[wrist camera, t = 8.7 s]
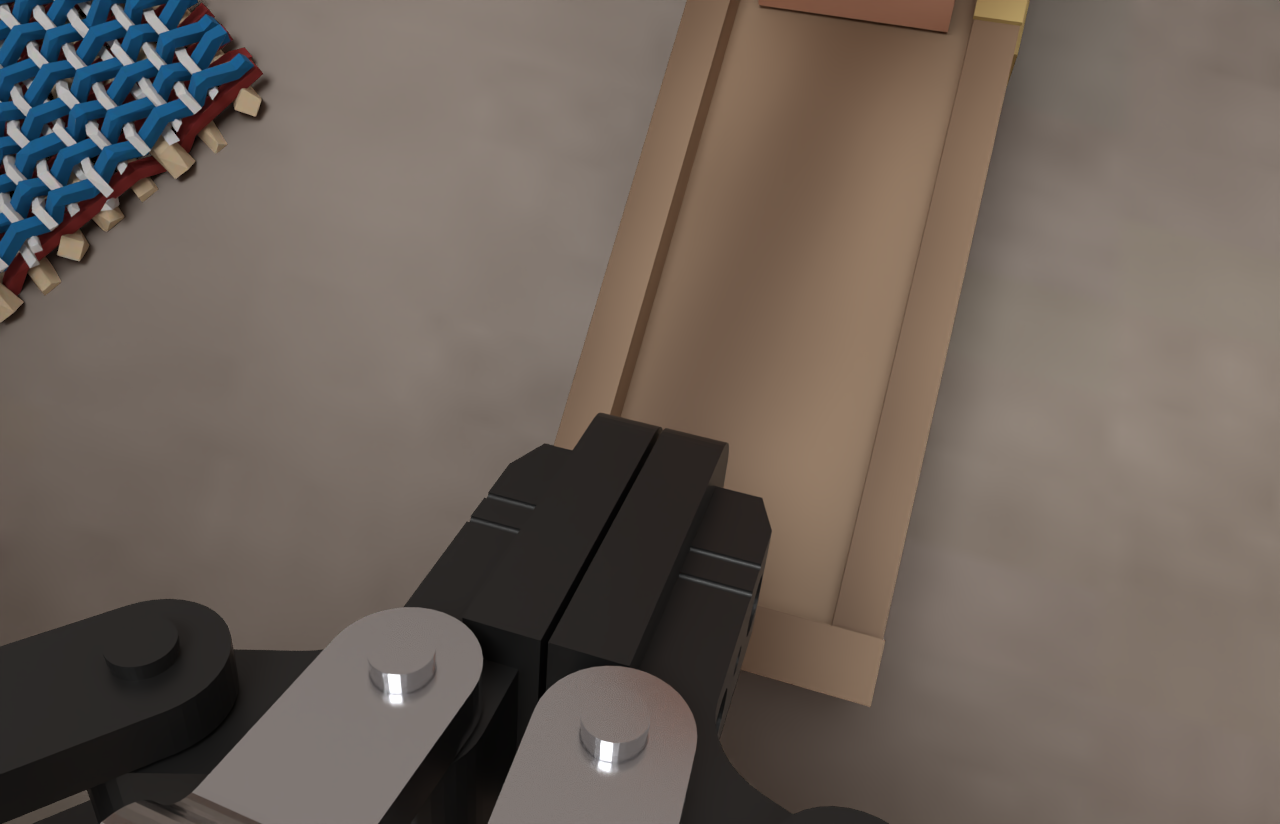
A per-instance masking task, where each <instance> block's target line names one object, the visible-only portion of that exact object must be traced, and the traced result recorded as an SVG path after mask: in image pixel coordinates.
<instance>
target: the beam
mask: <svg viewBox="0 0 1280 824" xmlns="http://www.w3.org/2000/svg"><path fill="white" fill-rule="evenodd" d="M1029 1H1030V0H955V4H954V8H953V12H952V16H951V20H950V25H949V29H948V32H942V31H935V30H928V29H921V28H914V27H907V26H900V25H893V24H887V23H880V22H873V21H866V20H859V19H852V18H845V17H838V16H831V15H824V14H817V13H810V12H803V11H796V10H789V9H783V8H776V7H769V6H762V5H759V3H758V0H687V2H686V5H685V8H684V12H683V15H682V18H681V22H680V25H679V29H678V32H677V35H676V39H675V42H674V45H673V49H672V52H671V55H670V59H669V62H668V65H667V69H666V72H665V75H664V79H663V82H662V85H661V89H660V92H659V95H658V99H657V102H656V105H655V109H654V112H653V115H652V119H651V122H650V125H649V129H648V132H647V135H646V139H645V142H644V145H643V149H642V152H641V155H640V159H639V162H638V166H637V169H636V172H635V176H634V179H633V182H632V186H631V189H630V192H629V196H628V199H627V202H626V206H625V209H624V212H623V216H622V219H621V222H620V226H619V229H618V232H617V236H616V239H615V242H614V246H613V249H612V252H611V256H610V259H609V262H608V266H607V269H606V272H605V276H604V279H603V282H602V286H601V289H600V293H599V296H598V299H597V303H596V306H595V309H594V313H593V316H592V319H591V323H590V326H589V329H588V333H587V336H586V339H585V343H584V346H583V349H582V353H581V356H580V359H579V363H578V366H577V369H576V373H575V376H574V379H573V383H572V386H571V389H570V393H569V396H568V399H567V403H566V406H565V409H564V413H563V416H562V419H561V423H560V426H559V430H558V433H557V436H556V440H555V443H554V446H557V447H561V448H565V449H569V450H573V449H574V447H575V446H576V444H577V443H578V441H579V440H580V438H581V437H582V435H583V434H584V432H585V431H586V429H587V428H588V426H589V425H590V423H591V422H592V420H593V419H594V417H595V416H596V415H597V414H598V413H600V412H601V413H605V414H609V415H614V416H618V417H622V418H626V419H630V420H634V421H638V422H643V423H647V424H651V425H655V426H659V427H662V429H663V430H664V429H665V428H669V429H673V430H677V431H681V432H685V433H689V434H693V435H697V436H702V437H706V438H710V439H714V440H718V441H722V442H726V443H728V444H729V455H728V463H727V469H726V475H725V481H724V487H723V488H725V489H729V490H733V491H737V492H741V493H745V494H749V495H753V496H757V497H761V498H763V502H764V505H765V509H766V512H767V516H768V519H769V522H770V526H771V529H772V534H771V539H770V544H769V549H768V554H767V559H766V564H765V569H764V574H763V579H762V584H761V589H760V594H759V599H758V604H757V609H756V614H755V619H754V624H753V629H752V634H751V637H750V640H749V643H748V647H747V650H746V653H745V657H744V660H743V663H742V666H741V669H740V670H743V671H747V672H750V673H754V674H757V675H761V676H764V677H768V678H771V679H775V680H778V681H782V682H785V683H789V684H792V685H796V686H799V687H802V688H806V689H809V690H813V691H816V692H820V693H823V694H827V695H830V696H834V697H837V698H841V699H844V700H848V701H851V702H855V703H858V704H862V705H865V706H869V707H871V703H872V698H873V694H874V689H875V685H876V680H877V676H878V671H879V667H880V662H881V658H882V653H883V649H884V644H885V640H883V637H884V633H885V628H886V624H887V619H888V615H889V610H890V606H891V601H892V597H893V592H894V588H895V583H896V579H897V574H898V570H899V566H900V561H901V557H902V552H903V548H904V543H905V539H906V534H907V530H908V525H909V521H910V516H911V512H912V507H913V503H914V498H915V494H916V489H917V485H918V481H919V476H920V472H921V467H922V463H923V458H924V454H925V449H926V445H927V440H928V436H929V431H930V427H931V422H932V418H933V413H934V409H935V404H936V400H937V396H938V391H939V387H940V382H941V378H942V373H943V369H944V364H945V360H946V355H947V351H948V346H949V342H950V337H951V333H952V328H953V324H954V319H955V315H956V311H957V306H958V302H959V297H960V293H961V288H962V284H963V279H964V275H965V270H966V266H967V261H968V257H969V252H970V248H971V243H972V239H973V234H974V230H975V226H976V221H977V217H978V212H979V208H980V203H981V199H982V194H983V190H984V185H985V181H986V176H987V172H988V167H989V163H990V158H991V154H992V149H993V145H994V141H995V136H996V132H997V127H998V123H999V118H1000V114H1001V109H1002V105H1003V100H1004V96H1005V91H1006V87H1007V84H1008V81H1009V78H1010V76H1011V73H1012V70H1013V67H1014V64H1015V61H1016V58H1017V55H1018V51H1019V46H1020V42H1021V37H1022V33H1023V28H1024V24H1025V19H1026V15H1027V10H1028V6H1029Z"/></svg>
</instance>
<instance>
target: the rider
mask: <svg viewBox="0 0 1280 824" xmlns="http://www.w3.org/2000/svg"><path fill="white" fill-rule="evenodd" d="M758 3H759V5H762V6H769V7H776V8H783V9H789V10H796V11H803V12H810V13H817V14H824V15H831V16H838V17H845V18H852V19H859V20H866V21H873V22H880V23H887V24H893V25H900V26H907V27H914V28H921V29H928V30H935V31H942V32H948V29H949V25H950V20H951V16H952V12H953V8H954V4H955V0H758Z"/></svg>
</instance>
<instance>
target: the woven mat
mask: <svg viewBox="0 0 1280 824" xmlns="http://www.w3.org/2000/svg"><path fill="white" fill-rule="evenodd" d="M91 2H92V3H91ZM123 3H126V4H125V5H124V4H123ZM196 3H198V1H197V0H0V323H1V322H2V321H3V320H5V319H6V318H7V317H9V316H10V315H11V314H13V313H14V312H15V311H16V310H17V309H18V308H19V307H20V306H21V305H22V304H23V301H22V300H21V299H20V298H19V297H17V295H18V294H20V292H21V289H22V286H23V283H24V280H25V278H26V275H27V273H28V275H29V276H30V277H31V279H32V280H33V281H34V283H35V284H36V285H37V286H38V288H39V289H40V290H41V291H42V293H43V294H44V295H46V294H48V293H49V292H50V291H51V290H52V289H54V288H55V287H56V286H57V285H58V284H60V283H61V280H60V279H59V277H58V275H57V273H56V271H55V269H54V268H53V266H52V265H51V263H50V262H49V260H48V259H47V258H46V255H47V254H49V253H50V252H51V251H52V250H54V249H55V248H56V247H57V246H58V245H59V248H58V253H57V255H58V256H61V257H65V258H69V259H72V260H76V261H80V260H81V259H82V258H83V256H84V255H85V253H86V251H87V250H88V247H89V244H88V242H87V240H86V238H85V237H84V235H83V233H82V232H81V230H80V229H79V228H81V227H82V226H83V225H84V224H86V223H87V222H88V221H89V220H91V219H93V220H94V221H95V222H96V223H97V224H98V225H99V226H100V227H101V229H102V230H103V231H109V230H110V229H111V228H112V227H113V226H115V225H116V224H117V223H118V222H119V221H121V220H122V219H123V218H124V215H123V214H122V212H121V210H120V209H119V207H118V206H119V199H118V197H119V196H120V195H121V194H123V193H124V192H125V191H126V190H128V189H129V188H130V187H131V189H132V190H133V191H134V192H135V194H136V195H137V196H138V197H139V199H140V200H141V201H142V202H143V201H145V200H146V199H147V198H148V197H150V196H151V195H152V194H153V193H154V192H156V191H157V190H158V188H157V186H156V185H155V184H154V182H153V181H152V179H151V178H150V176H153V175H156V174H159V173H163V172H166V171H168V172H169V173H170V174H171V175H172V176H173V177H174V178H175V179H176V178H177V177H179V176H180V175H181V174H183V173H184V172H185V171H187V170H188V169H189V168H190V167H191V166H192V165H193V163H194V162H195V160H194V159H193V158H192V157H191V156H190V155H189V154H188V153H189V152H190V150H191V147H192V145H193V142H194V139H195V136H196V135H198V136H199V137H200V138H201V140H202V141H203V142H204V143H205V144H206V145H207V146H208V147H209V148H210V149H211V150H212V151H213V152H214V153H215V154H217V153H218V152H219V151H220V150H221V149H223V148H224V147H225V146H226V145H228V144H227V143H226V141H225V139H224V138H223V136H222V135H221V133H220V131H219V130H218V128H217V127H216V125H215V123H214V122H213V119H214V118H215V117H216V116H217V115H219V114H220V113H221V112H222V111H223V110H224V109H225V108H226V107H227V106H228V105H230V104H231V103H232V102H233V104H234V109H235V110H237V111H240V112H243V113H246V114H249V115H252V116H255V117H256V116H257V113H258V111H259V107H260V104H261V97H260V96H259V95H258V94H257V93H256V92H255V90H254V89H253V88H252V87H251V86H250V85H251V84H253V83H254V82H255V81H256V80H257V79H258V78H259V77H260V76H261V75H262V74H263V73H262V71H261V70H260V69H259V68H258V67H257V66H256V64H255V63H254V62H253V61H252V60H251V58H252V56H251V55H250V53H249V52H248V51H247V50H246V49H245V48H240V49H236V50H232V51H229V52H227V53H226V54H224V53H223V51H222V50H221V49H222V48H223V47H224V46H225V45H227V44H228V43H229V42H231V41H232V40H233V39H232V37H231V36H230V34H229V33H228V31H227V30H226V29H225V28H224V27H223V26H222V24H221V25H220V24H219V23H218V22H217V21H216V20H215V19H214V17H215V16H214V15H213V14H212V13H211V11H210V10H209V9H208V8H207V7H206V6H205V5H204V4H203V3H201V4H200V5H199V6H198V7H197V8H196V9H195V10H194V11H193V12H192V13H190V11H189V10H188V9H187V8H189V7H191V6H193V5H194V4H196ZM44 7H45V8H44ZM79 8H81V9H82V11H83V12H84V13H85V15H86V18H85V19H83V17H82V16H81V15H80V13H79V12H78V11H77V10H78V9H79ZM33 16H34V17H33ZM32 17H33V18H32ZM31 18H32V19H31ZM119 38H121V39H120V40H119V41H118V40H117V39H119ZM5 39H6V40H5ZM4 40H5V41H4ZM156 41H158V42H157V45H156V43H155V42H156ZM107 44H108V45H109V46H110V48H109V49H107V48H106V45H107ZM186 46H187V47H188V48H187V49H185V47H186ZM103 84H104V85H105V86H104V85H103ZM218 85H219V86H220V87H218V88H217V87H216V86H218ZM50 92H52V95H53V98H54V100H51V101H50V100H49V99H48V98H47V97H48V96H49V94H50ZM207 93H208V94H209V96H208V97H207V98H206V95H207ZM8 100H9V102H8ZM182 118H183V119H182ZM21 119H23V120H21ZM181 119H182V121H181ZM133 122H134V123H133ZM172 126H173V128H174V129H175V130H176V132H177V133H176V135H175V133H174V132H173V131H172V129H171V127H172ZM122 127H123V130H124V133H123V134H122V135H121V136H120V133H121V129H122ZM149 152H150V154H151V155H152V156H150V157H146V158H143V159H140V160H137V159H136V158H137V157H141V156H145V155H148V154H149ZM99 154H100V155H99ZM97 155H99V156H98V157H97V160H96V162H95V165H93V163H92V161H91V159H90V158H93V157H95V156H97ZM49 156H50V157H51V159H49V160H48V161H46V157H49ZM1 164H2V166H1ZM35 165H37V168H36V166H35ZM115 169H116V170H117V171H118V172H117V173H115V174H114V171H115ZM113 174H114V175H113ZM13 190H15V192H14V194H13V196H12V199H10V195H9V192H10V191H13ZM31 205H32V208H31V209H30V207H31ZM67 211H68V212H67ZM14 257H15V258H14ZM4 271H5V273H4Z"/></svg>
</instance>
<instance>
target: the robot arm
mask: <svg viewBox="0 0 1280 824" xmlns="http://www.w3.org/2000/svg"><path fill="white" fill-rule="evenodd" d="M728 455H729V444H728V443H726V442H722V441H718V440H714V439H710V438H706V437H702V436H697V435H693V434H689V433H685V432H681V431H677V430H673V429H669V428H665V429H664V430H663V429H662V427H659V426H655V425H651V424H647V423H643V422H638V421H634V420H630V419H626V418H622V417H618V416H614V415H609V414H605V413H601V412H600V413H598V414H597V415H596V416H595V417H594V419H593V420H592V422H591V423H590V425H589V426H588V428H587V429H586V431H585V432H584V434H583V435H582V437H581V438H580V440H579V441H578V443H577V444H576V446H575V447H574V449H573V450H569V449H565V448H561V447H557V446H553V445H549V444H543V445H541V446H540V447H538V448H536V449H534V450H533V451H531V452H529V453H528V454H526V455H524V456H522V457H521V458H519V459H517V460H515V461H514V462H512V463H510V464H509V465H508V467H507V468H506V469H505V471H504V472H503V473H502V475H501V476H500V477H499V479H498V480H497V482H496V483H495V484H494V486H493V487H492V488H491V490H490V491H489V493H488V497H487V498H484V499H483V500H482V502H481V503H480V505H479V506H478V507H477V509H476V510H475V511H474V513H473V514H472V515H471V520H470V522H466V523H465V525H464V526H463V528H462V529H461V530H460V532H459V533H458V534H457V536H456V537H455V538H454V540H453V541H452V542H451V544H450V545H449V546H448V548H447V549H446V551H445V552H444V553H443V555H442V556H441V557H440V559H439V560H438V561H437V563H436V564H435V565H434V567H433V568H432V569H431V571H430V572H429V574H428V575H427V576H426V578H425V579H424V580H423V582H422V583H421V584H420V586H419V587H418V588H417V590H416V591H415V592H414V594H413V595H412V597H411V598H410V599H409V601H408V602H407V603H406V605H405V606H404V607H403V608H393V609H388V610H384V611H379V612H376V613H374V614H371V615H368V616H365V617H363V618H361V619H359V620H357V621H355V622H354V623H352V624H351V625H349V626H348V627H346V628H345V629H344V630H343V631H341V632H340V633H339V634H338V635H337V636H336V637H335V638H334V639H333V640H332V641H331V642H330V643H329V644H328V646H327V647H326V648H325V649H323V650H316V651H276V650H233V645H232V639H231V635H230V632H229V628H228V626H227V624H226V623H225V621H224V620H223V618H221V617H220V616H219V615H218V614H217V613H216V612H215V611H213V610H211V609H210V608H208V607H206V606H203V605H201V604H198V603H195V602H190V601H185V600H176V599H160V600H150V601H144V602H139V603H135V604H131V605H128V606H124V607H121V608H118V609H115V610H112V611H109V612H106V613H103V614H100V615H96V616H93V617H90V618H87V619H84V620H81V621H78V622H75V623H72V624H69V625H66V626H63V627H59V628H56V629H53V630H50V631H47V632H44V633H41V634H38V635H35V636H32V637H29V638H26V639H22V640H19V641H16V642H13V643H10V644H7V645H4V646H1V647H0V824H2V823H5V822H7V821H10V820H12V819H15V818H17V817H20V816H22V815H25V814H27V813H30V812H32V811H35V810H37V809H40V808H42V807H45V806H47V805H50V804H52V803H54V802H57V801H59V800H62V799H64V798H67V797H69V796H72V795H74V794H77V793H79V792H82V791H84V790H87V791H88V794H89V797H90V800H89V801H87V802H85V803H82V804H80V805H77V806H75V807H72V808H70V809H67V810H65V811H63V812H60V813H58V814H55V815H53V816H50V817H48V818H45V819H43V820H41V821H38V822H36V823H33V824H889V823H887V822H885V821H883V820H882V819H880V818H877V817H875V816H873V815H870V814H868V813H865V812H862V811H858V810H855V809H851V808H844V807H835V806H829V807H816V808H811V809H806V810H803V811H801V812H798V813H796V814H791V813H790V812H788V811H787V810H785V809H784V808H782V807H781V806H779V805H778V804H776V803H775V802H773V801H772V800H770V799H769V798H767V797H766V796H764V795H763V794H761V793H760V792H759V791H757V790H756V789H755V788H753V787H752V786H751V785H749V784H748V783H747V782H746V781H745V780H744V779H743V778H742V777H741V776H740V775H739V774H738V772H737V771H736V770H735V769H734V767H733V766H732V765H731V763H730V762H729V760H728V759H727V757H726V755H725V753H724V751H723V750H722V747H721V744H720V742H719V739H720V735H721V732H722V729H723V726H724V722H725V719H726V716H727V712H728V709H729V706H730V702H731V698H732V696H733V693H734V689H735V686H736V683H737V680H738V676H739V673H740V669H741V666H742V663H743V660H744V657H745V653H746V650H747V647H748V643H749V640H750V637H751V634H752V629H753V624H754V619H755V614H756V609H757V604H758V599H759V594H760V589H761V584H762V579H763V574H764V569H765V564H766V559H767V554H768V549H769V544H770V539H771V534H772V529H771V526H770V522H769V519H768V516H767V512H766V509H765V505H764V502H763V498H761V497H757V496H753V495H749V494H745V493H741V492H737V491H733V490H729V489H725V488H723V487H724V481H725V475H726V469H727V463H728Z"/></svg>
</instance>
